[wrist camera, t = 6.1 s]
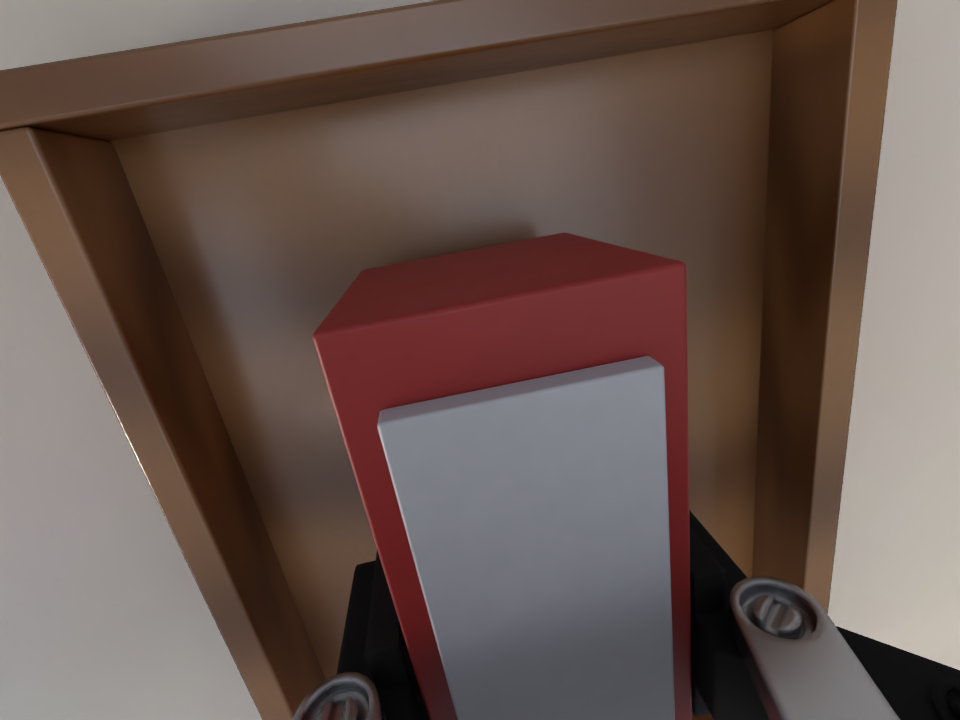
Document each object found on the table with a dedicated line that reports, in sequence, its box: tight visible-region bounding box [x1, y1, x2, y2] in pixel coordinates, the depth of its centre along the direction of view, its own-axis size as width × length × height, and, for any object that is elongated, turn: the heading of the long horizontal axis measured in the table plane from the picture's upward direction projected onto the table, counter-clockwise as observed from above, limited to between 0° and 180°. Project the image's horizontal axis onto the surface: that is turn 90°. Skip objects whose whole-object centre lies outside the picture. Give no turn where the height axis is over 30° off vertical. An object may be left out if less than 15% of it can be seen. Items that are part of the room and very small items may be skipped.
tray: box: [0, 0, 897, 720], centre depth 12 cm, size 22×16×2 cm
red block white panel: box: [312, 232, 692, 720], centre depth 9 cm, size 13×4×5 cm, turn 10°
